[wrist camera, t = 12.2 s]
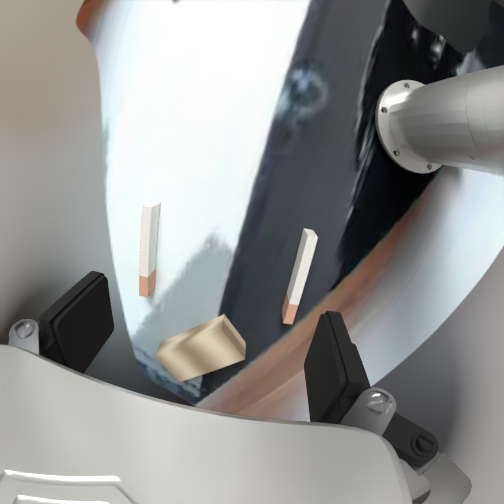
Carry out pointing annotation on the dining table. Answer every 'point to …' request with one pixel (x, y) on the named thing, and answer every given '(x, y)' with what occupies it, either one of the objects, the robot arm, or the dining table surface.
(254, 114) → the dining table surface
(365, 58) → the dining table surface
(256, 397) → the dining table surface
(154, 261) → the walled lane
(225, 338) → the birch block
